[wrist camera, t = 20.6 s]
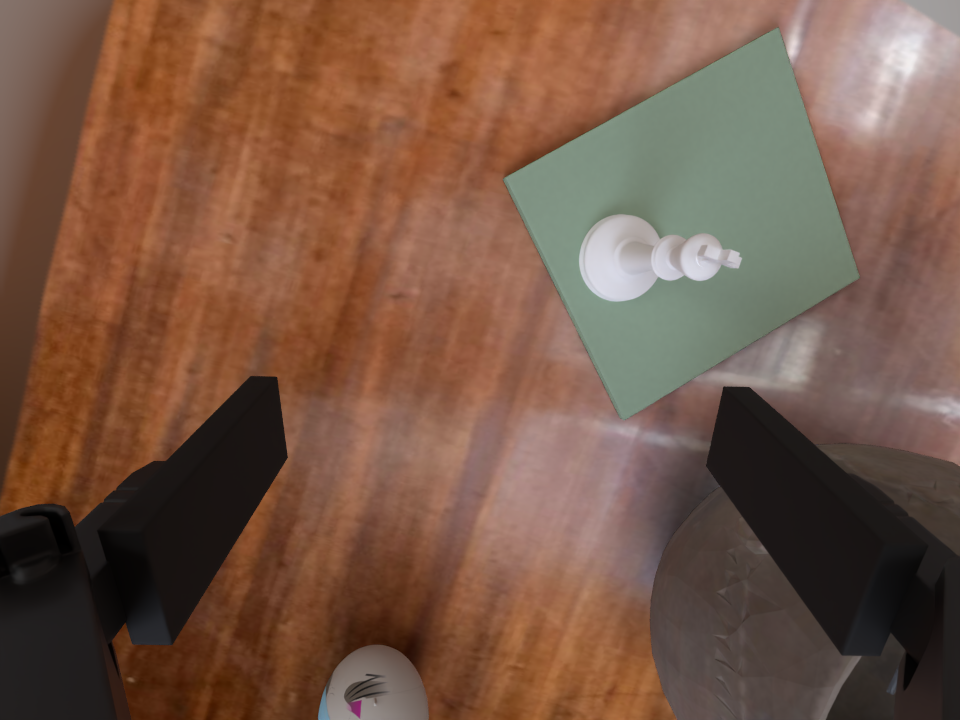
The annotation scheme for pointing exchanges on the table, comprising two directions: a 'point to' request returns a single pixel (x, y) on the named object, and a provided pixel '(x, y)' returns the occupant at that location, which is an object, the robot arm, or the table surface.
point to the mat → (694, 220)
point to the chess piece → (645, 257)
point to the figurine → (374, 688)
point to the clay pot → (778, 608)
